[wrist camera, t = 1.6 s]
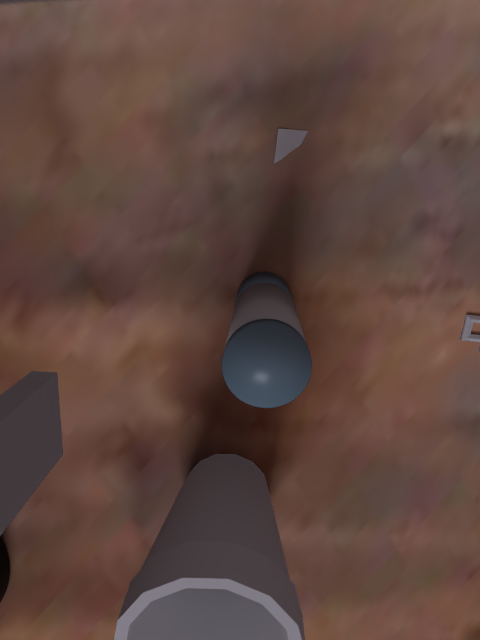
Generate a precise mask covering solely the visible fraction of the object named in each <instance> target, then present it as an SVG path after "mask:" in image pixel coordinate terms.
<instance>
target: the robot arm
mask: <svg viewBox="0 0 480 640" xmlns="http://www.w3.org/2000/svg"><path fill="white" fill-rule="evenodd" d="M62 455H63V447H62V433H61V419H60V405H59V391H58V377H57V373H55V372H37V371H32V372H30V373H29V374H28V375H26V376H25V377H24V378H23V379H21V380H20V381H19V382H17V383H16V384H15V385H13V386H12V387H11V388H9V389H8V390H7V391H6V392H4V393H3V394H2V395H0V536H1V535H2V533H3V532H4V531H5V529H6V528H7V527H8V525H9V524H10V523H11V522H12V520H13V519H14V518H15V516H16V515H17V514H18V512H19V511H20V510H21V509H22V507H23V506H24V505H25V503H26V502H27V501H28V499H29V498H30V497H31V495H32V494H33V493H34V492H35V490H36V489H37V488H38V486H39V485H40V484H41V482H42V481H43V480H44V479H45V477H46V476H47V475H48V473H49V472H50V471H51V469H52V468H53V467H54V466H55V464H56V463H57V462H58V460H59V459H60V458H61V456H62ZM8 580H9V564H8V558H7V554H6V551H5V548H4V546H3V543H2V541H1V539H0V602H1V601H2V599H3V597H4V595H5V592H6V589H7V585H8Z"/></svg>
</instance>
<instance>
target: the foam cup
mask: <svg viewBox="0 0 480 640" xmlns="http://www.w3.org/2000/svg"><path fill="white" fill-rule="evenodd" d="M114 640H305V636H304V626H303V616H302V612H301V608H300V605H299V601H298V597H297V593H296V589H295V585H294V583H293V582H292V581H291V580H290V577H289V573H288V569H287V565H286V561H285V556H284V552H283V548H282V544H281V540H280V535H279V531H278V527H277V523H276V519H275V514H274V510H273V506H272V502H271V498H270V494H269V490H268V486H267V482H266V478H265V475H264V474H263V473H262V471H261V470H260V469H259V468H258V467H257V466H256V465H255V464H254V462H252V461H250V460H248V459H246V458H243V457H241V456H239V455H236V454H215V455H212V456H210V457H208V458H205V459H203V460H201V461H199V462H198V463H197V465H196V466H195V467H194V468H193V469H192V470H191V471H190V473H189V474H188V477H187V478H186V479H185V481H184V483H183V485H182V487H181V489H180V491H179V493H178V495H177V497H176V499H175V501H174V503H173V505H172V507H171V509H170V511H169V513H168V515H167V517H166V519H165V522H164V524H163V526H162V528H161V530H160V532H159V534H158V536H157V538H156V540H155V542H154V544H153V546H152V548H151V550H150V552H149V554H148V556H147V558H146V560H145V562H144V564H143V566H142V568H141V570H140V571H139V572H138V573H137V574H136V575H135V577H134V578H133V579H132V580H131V582H130V585H129V588H128V591H127V594H126V597H125V600H124V603H123V606H122V609H121V612H120V615H119V618H118V621H117V627H116V632H115V638H114Z"/></svg>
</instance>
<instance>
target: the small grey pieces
mask: <svg viewBox="0 0 480 640" xmlns="http://www.w3.org/2000/svg"><path fill="white" fill-rule="evenodd" d="M307 132H308V131H302V130H291V129H280V128H278V135H277V143H276V151H275V158H274V164H275V163H276V162H278V161H279V160H281V159H283V158H284V157H285V156H287V155H288V154H289V153H290V152H291V151H293V150H294V149H296V148H297V147H299V146H300V145H301V144H302V142H303V140H304V138H305V136H306V134H307ZM473 323H480V316H475V315H466V317H465V321H464V325H463V329H462V333H461V338H460V340H464V341H473V342H480V335H475V334H471V330H472V326H473ZM479 352H480V347H479Z"/></svg>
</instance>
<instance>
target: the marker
mask: <svg viewBox="0 0 480 640" xmlns="http://www.w3.org/2000/svg"><path fill="white" fill-rule="evenodd" d="M311 370H312V362H311V357H310V353H309V350H308V347H307V343H306V340H305V337H304V334H303V331H302V328H301V324H300V321H299V318H298V315H297V312H296V309H295V305H294V302H293V299H292V296H291V293H290V290H289V287H288V285H287V284H286V282H285V281H284V280H283V279H282V278H281V277H279V276H278V275H276V274H274V273H270V272H258V273H255V274H252V275H250V276H249V277H247V278H246V279H245V280H244V281H243V283H242V284H241V286H240V287H239V290H238V294H237V298H236V303H235V307H234V311H233V316H232V320H231V324H230V328H229V333H228V337H227V341H226V346H225V350H224V354H223V359H222V373H223V377H224V380H225V382H226V384H227V386H228V388H229V389H230V391H231V392H232V393H233V394H234V395H235V396H236V397H237V398H238V399H240V400H241V401H243V402H245V403H247V404H249V405H252V406H255V407H260V408H273V407H278V406H282V405H285V404H287V403H289V402H291V401H292V400H294V399H295V398H296V397H298V396H299V395H300V394H301V393H302V391H303V390H304V389H305V387H306V386H307V384H308V381H309V379H310V375H311Z"/></svg>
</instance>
